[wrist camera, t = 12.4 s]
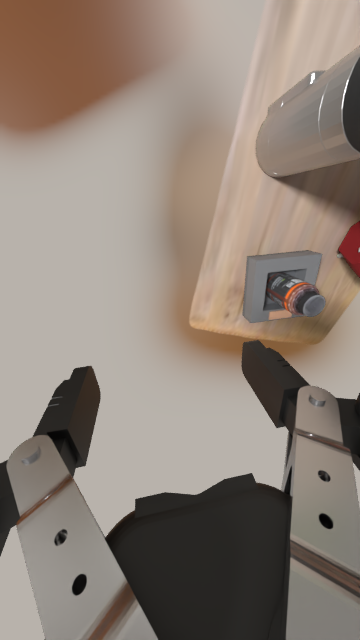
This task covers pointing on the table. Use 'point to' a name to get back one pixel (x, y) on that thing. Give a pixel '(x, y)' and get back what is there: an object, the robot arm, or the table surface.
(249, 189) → the table surface
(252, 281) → the socket holder
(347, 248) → the alarm clock
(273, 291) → the supplement bottle
